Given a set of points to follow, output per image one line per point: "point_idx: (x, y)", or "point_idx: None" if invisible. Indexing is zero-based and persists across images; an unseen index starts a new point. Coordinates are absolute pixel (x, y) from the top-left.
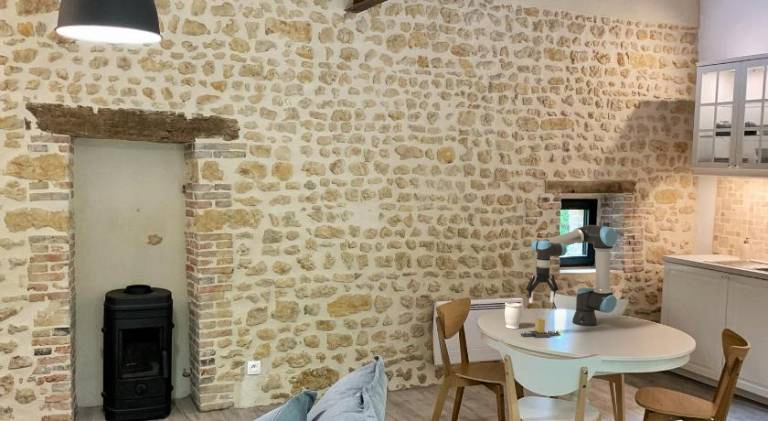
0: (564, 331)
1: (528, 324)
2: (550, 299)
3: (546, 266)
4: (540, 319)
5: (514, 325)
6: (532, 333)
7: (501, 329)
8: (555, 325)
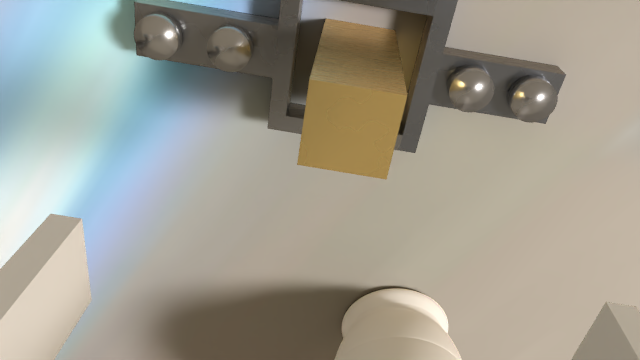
0: (12, 121)
1: (211, 350)
2: (61, 330)
3: None
4: (355, 121)
5: (416, 312)
6: (433, 81)
7: (519, 311)
8: None
